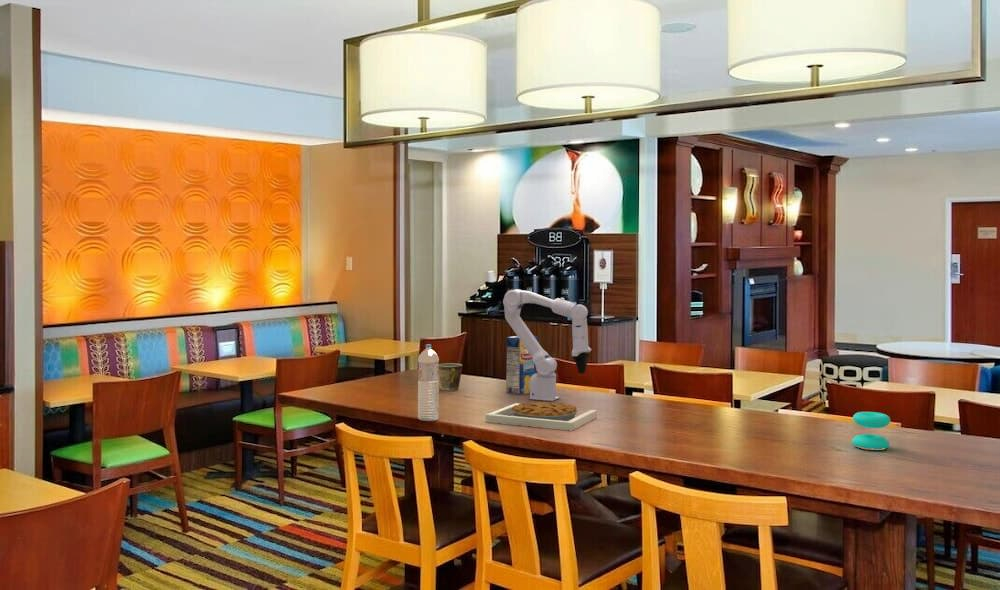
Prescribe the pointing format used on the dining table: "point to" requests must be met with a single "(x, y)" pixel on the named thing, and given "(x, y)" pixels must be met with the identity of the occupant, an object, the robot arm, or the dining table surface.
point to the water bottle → (428, 385)
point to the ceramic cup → (449, 375)
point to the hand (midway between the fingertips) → (582, 373)
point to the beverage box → (518, 367)
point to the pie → (545, 411)
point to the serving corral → (570, 425)
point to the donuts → (871, 422)
